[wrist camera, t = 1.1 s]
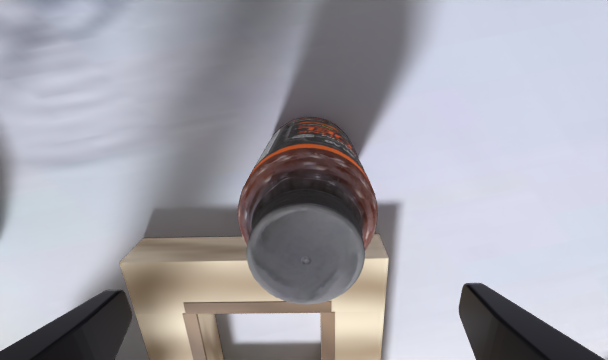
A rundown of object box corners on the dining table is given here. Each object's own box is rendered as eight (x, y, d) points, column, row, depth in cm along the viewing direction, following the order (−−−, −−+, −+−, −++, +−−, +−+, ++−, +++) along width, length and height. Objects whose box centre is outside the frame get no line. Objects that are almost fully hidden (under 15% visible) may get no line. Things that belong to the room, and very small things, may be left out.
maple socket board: (368, 395, 29) (374, 431, 26) (185, 395, 29) (171, 430, 27) (378, 233, 22) (388, 258, 19) (142, 238, 23) (118, 263, 20)
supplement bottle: (367, 131, 20) (433, 210, 9) (335, 208, 22) (359, 346, 11) (279, 102, 19) (240, 150, 8) (256, 184, 21) (201, 305, 11)
